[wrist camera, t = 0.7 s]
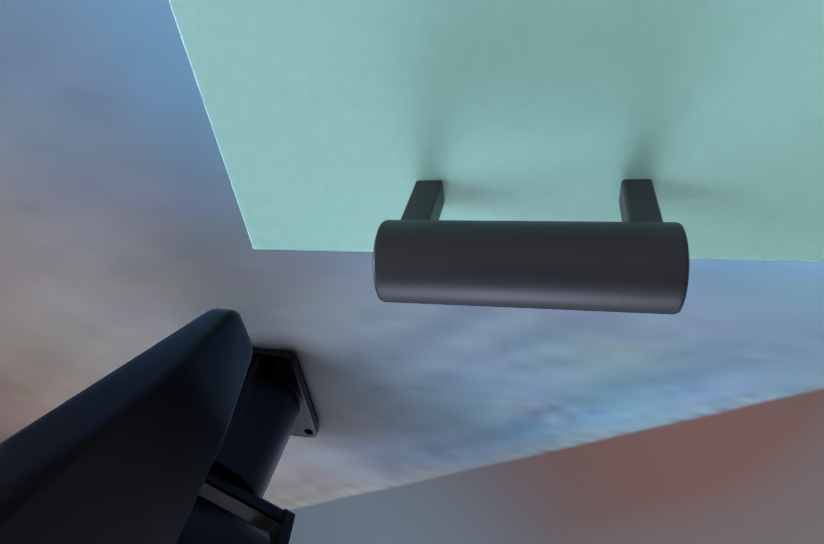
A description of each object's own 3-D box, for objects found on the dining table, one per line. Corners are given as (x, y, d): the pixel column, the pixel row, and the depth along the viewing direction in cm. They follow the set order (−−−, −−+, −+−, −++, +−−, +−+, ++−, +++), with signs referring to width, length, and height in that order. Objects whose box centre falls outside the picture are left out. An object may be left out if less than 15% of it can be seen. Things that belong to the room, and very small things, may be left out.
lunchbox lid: (867, 247, 14) (976, 393, 10) (262, 237, 18) (185, 342, 14) (1235, -593, 7) (2023, -1087, 3) (84, -310, 11) (-166, -385, 7)
